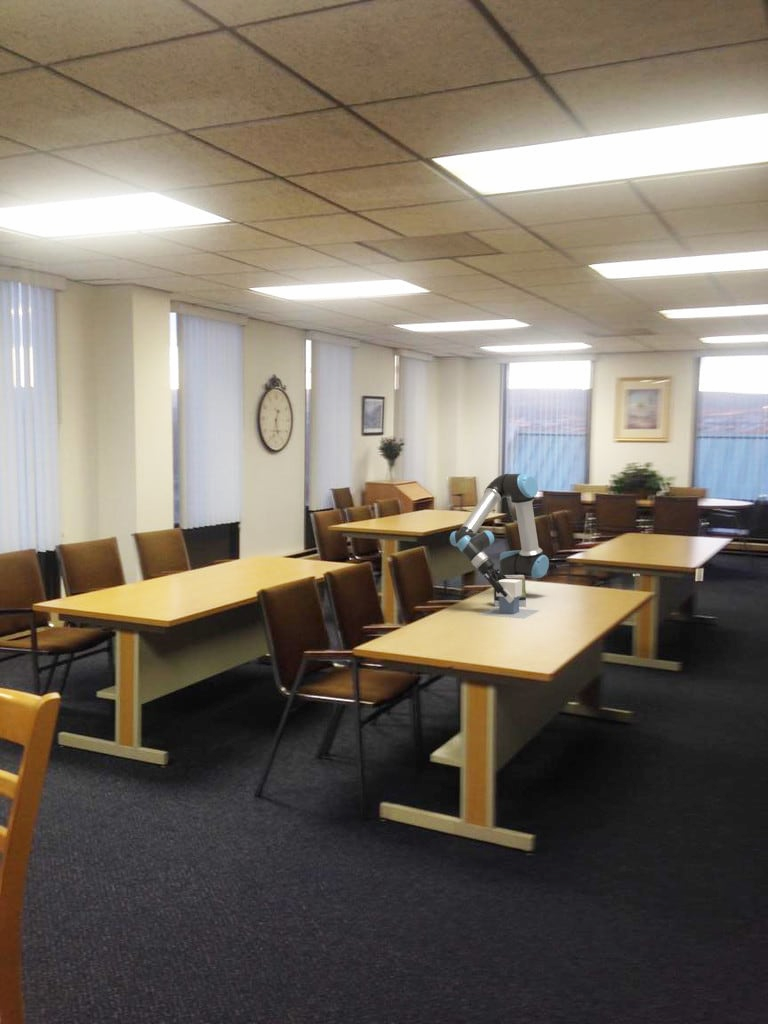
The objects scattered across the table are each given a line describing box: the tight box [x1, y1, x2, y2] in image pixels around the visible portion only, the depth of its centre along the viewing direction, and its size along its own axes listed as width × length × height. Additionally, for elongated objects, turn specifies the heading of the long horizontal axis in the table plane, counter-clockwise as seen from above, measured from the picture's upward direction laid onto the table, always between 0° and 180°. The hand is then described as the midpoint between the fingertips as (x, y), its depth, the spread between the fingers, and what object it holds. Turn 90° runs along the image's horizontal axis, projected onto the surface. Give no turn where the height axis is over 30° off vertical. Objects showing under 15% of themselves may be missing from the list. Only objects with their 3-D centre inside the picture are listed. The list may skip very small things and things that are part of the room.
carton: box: [499, 596, 520, 614], centre depth 394 cm, size 7×7×13 cm
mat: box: [478, 606, 541, 619], centre depth 395 cm, size 22×22×1 cm
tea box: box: [493, 575, 527, 608], centre depth 414 cm, size 15×10×15 cm, turn 84°
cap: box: [496, 579, 522, 598], centre depth 394 cm, size 9×9×7 cm
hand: (515, 599), depth 393 cm, fingers closed on cap, 9 cm apart
